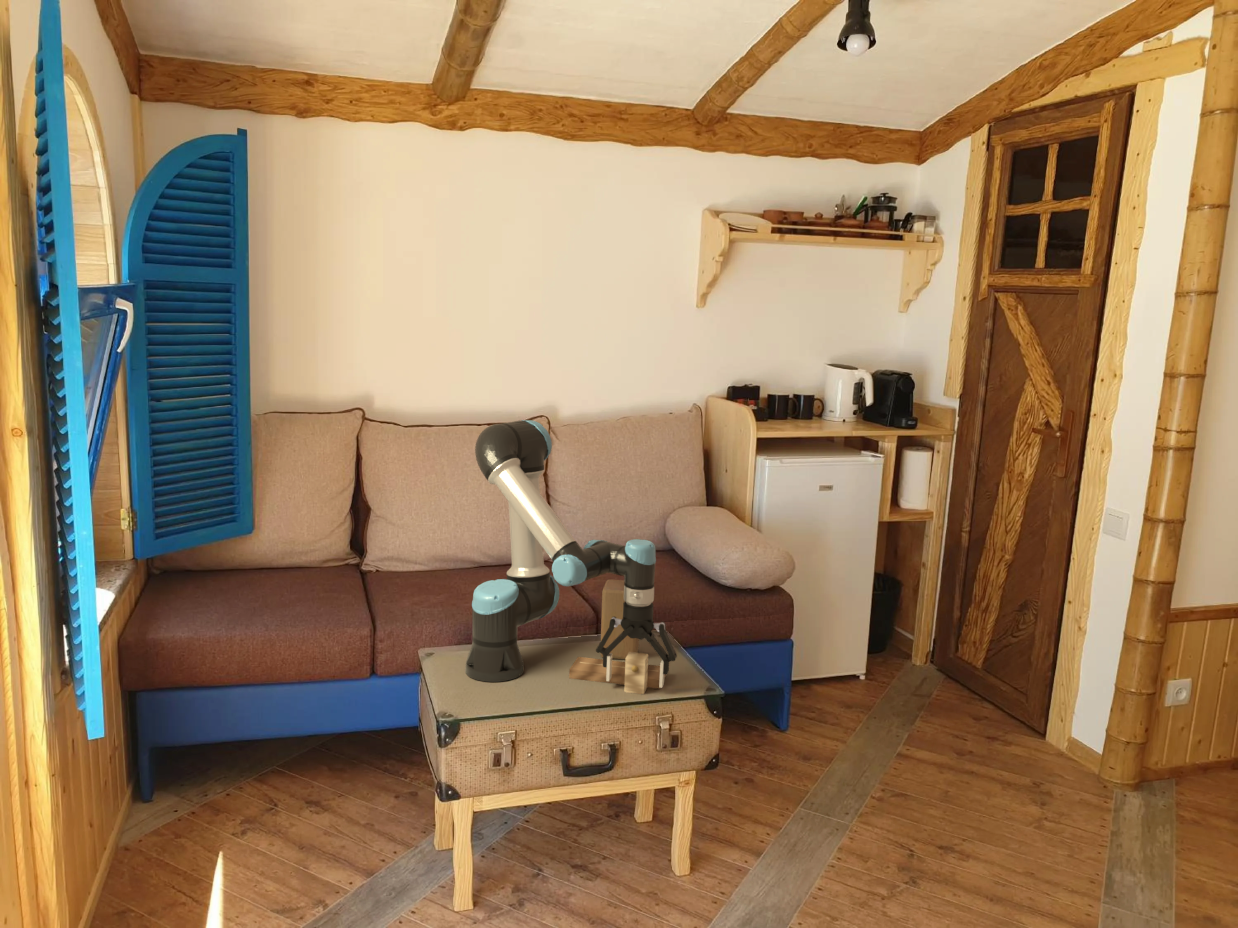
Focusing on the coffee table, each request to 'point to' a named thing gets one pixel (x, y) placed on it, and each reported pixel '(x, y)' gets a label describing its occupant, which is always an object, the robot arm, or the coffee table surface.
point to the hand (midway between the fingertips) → (635, 682)
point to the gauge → (636, 672)
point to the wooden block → (614, 607)
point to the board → (596, 672)
